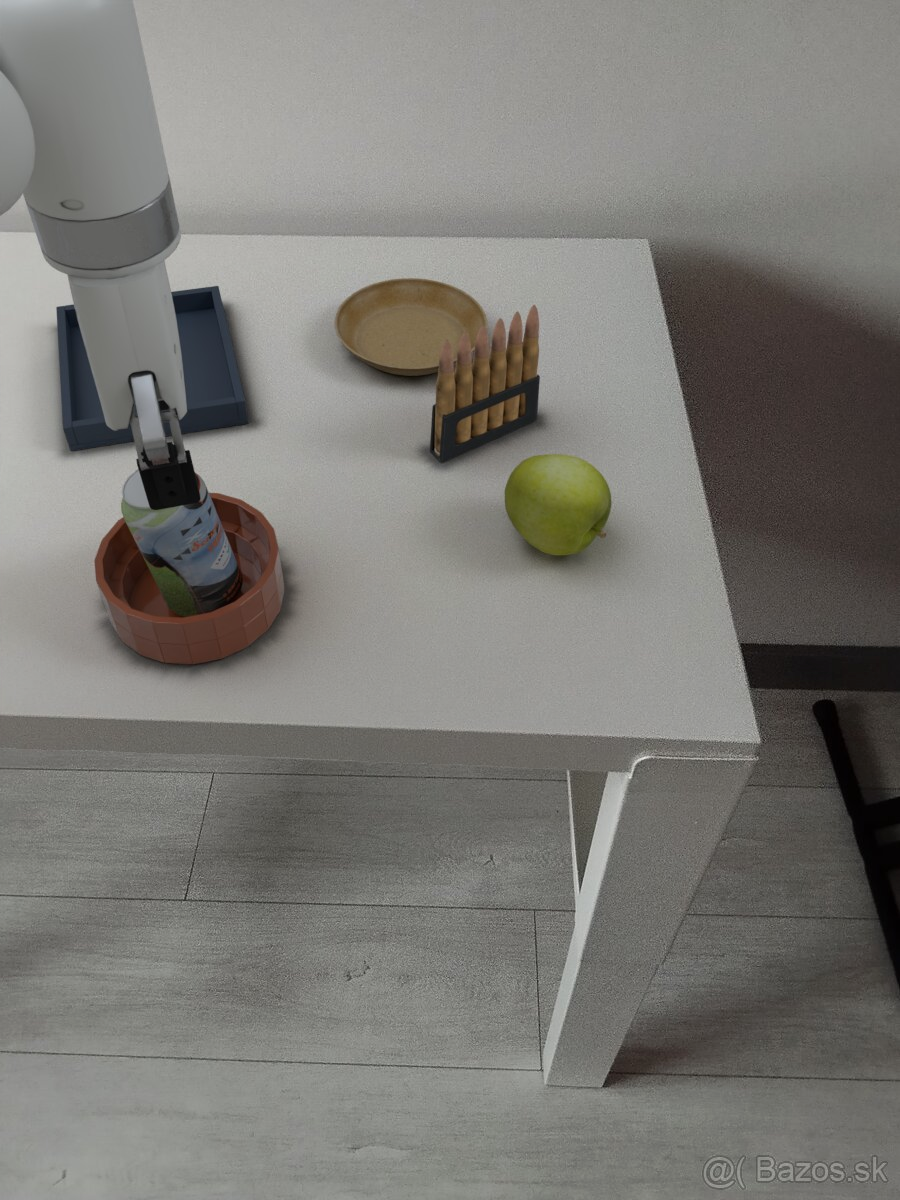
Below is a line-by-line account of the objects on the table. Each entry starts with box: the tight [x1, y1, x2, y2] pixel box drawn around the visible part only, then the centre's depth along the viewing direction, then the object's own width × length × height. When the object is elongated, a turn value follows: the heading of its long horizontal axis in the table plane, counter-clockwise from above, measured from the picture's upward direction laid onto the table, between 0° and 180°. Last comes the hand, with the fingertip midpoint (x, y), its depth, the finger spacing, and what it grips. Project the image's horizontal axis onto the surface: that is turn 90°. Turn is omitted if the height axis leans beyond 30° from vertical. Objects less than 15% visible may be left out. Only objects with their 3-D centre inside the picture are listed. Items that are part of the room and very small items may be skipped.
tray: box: [55, 285, 249, 452], centre depth 97 cm, size 16×19×3 cm
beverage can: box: [120, 468, 243, 617], centre depth 76 cm, size 6×7×12 cm
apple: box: [504, 453, 612, 556], centre depth 82 cm, size 8×9×8 cm
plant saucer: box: [333, 277, 488, 377], centre depth 101 cm, size 15×15×3 cm
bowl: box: [93, 492, 286, 665], centre depth 78 cm, size 13×13×5 cm
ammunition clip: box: [429, 304, 541, 464], centre depth 89 cm, size 11×2×12 cm, turn 125°
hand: (168, 453), depth 69 cm, fingers open, 9 cm apart
